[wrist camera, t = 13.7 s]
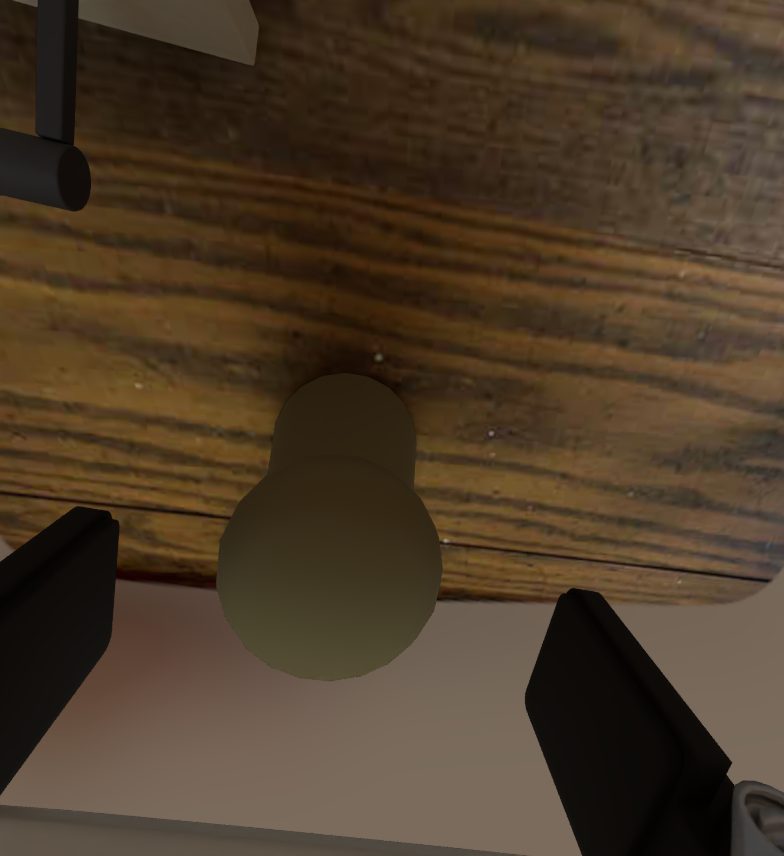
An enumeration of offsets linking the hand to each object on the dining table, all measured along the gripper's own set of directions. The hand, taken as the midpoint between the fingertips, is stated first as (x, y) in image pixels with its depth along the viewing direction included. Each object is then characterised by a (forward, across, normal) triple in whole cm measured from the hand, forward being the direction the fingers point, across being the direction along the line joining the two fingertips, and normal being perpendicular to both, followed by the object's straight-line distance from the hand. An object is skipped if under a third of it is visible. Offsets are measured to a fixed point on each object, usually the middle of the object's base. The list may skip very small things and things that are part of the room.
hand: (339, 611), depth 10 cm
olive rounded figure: (+11, 0, 0) cm, 11 cm away
